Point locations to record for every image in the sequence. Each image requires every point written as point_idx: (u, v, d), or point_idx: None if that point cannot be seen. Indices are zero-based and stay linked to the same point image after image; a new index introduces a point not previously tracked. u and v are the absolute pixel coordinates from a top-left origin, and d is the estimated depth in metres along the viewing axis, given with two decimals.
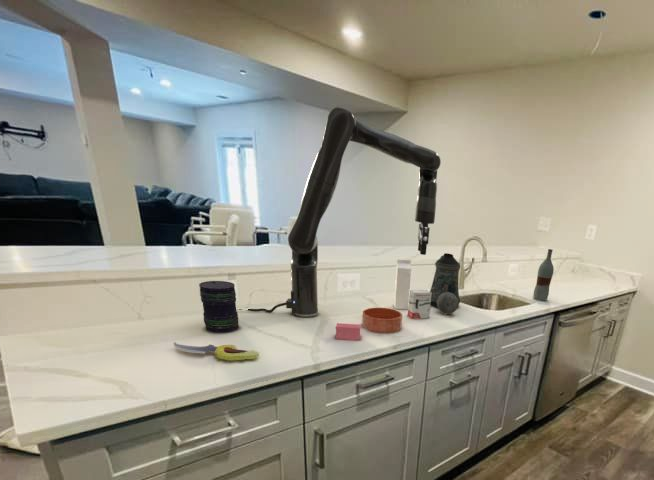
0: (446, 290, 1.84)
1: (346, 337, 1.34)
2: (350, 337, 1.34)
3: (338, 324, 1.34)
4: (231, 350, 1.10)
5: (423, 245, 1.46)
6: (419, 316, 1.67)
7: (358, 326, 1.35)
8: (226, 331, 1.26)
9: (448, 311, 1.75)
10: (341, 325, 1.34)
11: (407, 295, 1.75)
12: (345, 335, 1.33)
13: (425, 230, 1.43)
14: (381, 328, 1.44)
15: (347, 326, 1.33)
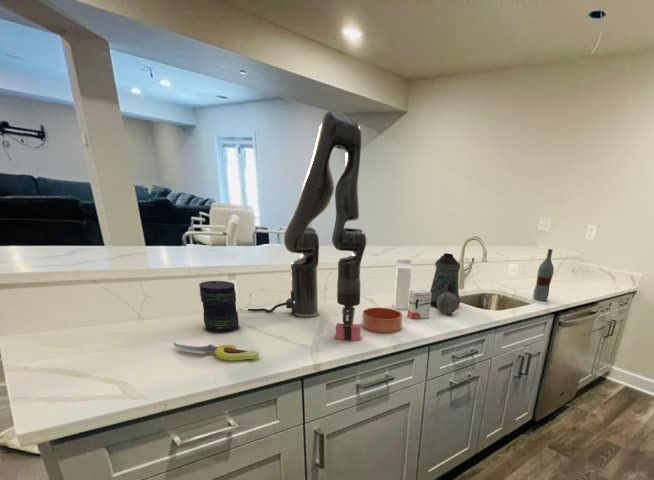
0: (446, 290, 1.84)
1: None
2: None
3: (338, 324, 1.34)
4: (231, 350, 1.10)
5: (347, 331, 1.32)
6: (419, 316, 1.67)
7: (358, 326, 1.35)
8: (226, 331, 1.26)
9: (448, 311, 1.75)
10: (341, 325, 1.34)
11: (407, 295, 1.75)
12: None
13: (346, 319, 1.27)
14: (381, 328, 1.44)
15: None
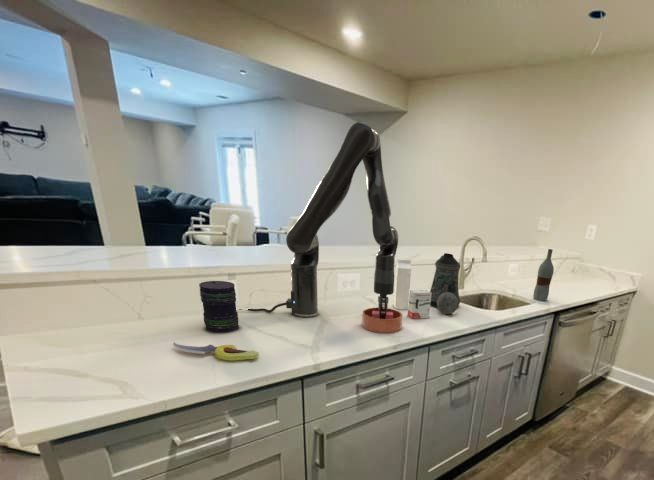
0: (446, 290, 1.84)
1: None
2: None
3: (373, 311, 1.51)
4: (231, 350, 1.10)
5: (381, 317, 1.48)
6: (419, 316, 1.67)
7: (391, 313, 1.52)
8: (226, 331, 1.26)
9: (448, 311, 1.75)
10: (376, 312, 1.50)
11: (407, 295, 1.75)
12: None
13: (382, 306, 1.43)
14: (381, 328, 1.44)
15: None
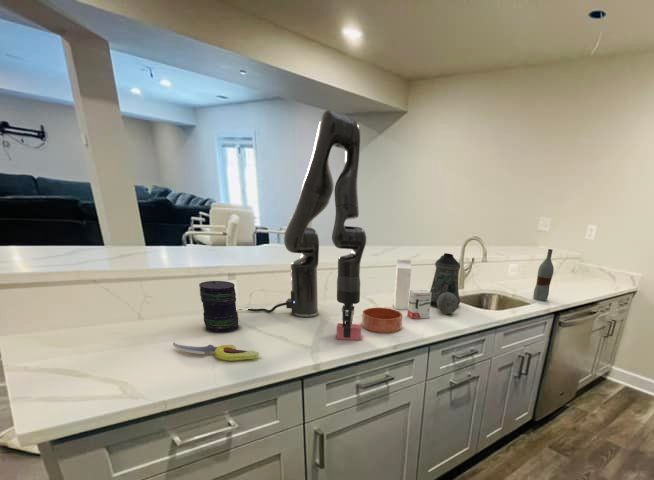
0: (446, 290, 1.84)
1: None
2: (350, 337, 1.34)
3: (339, 324, 1.34)
4: (231, 350, 1.10)
5: (346, 328, 1.29)
6: (419, 316, 1.67)
7: (359, 326, 1.35)
8: (226, 331, 1.26)
9: (448, 311, 1.75)
10: None
11: (407, 295, 1.75)
12: None
13: (345, 313, 1.26)
14: (381, 328, 1.44)
15: None
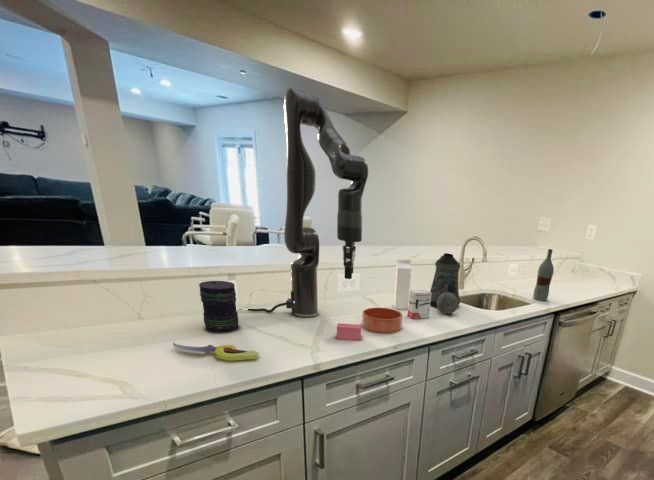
0: (446, 290, 1.84)
1: (347, 337, 1.34)
2: (350, 337, 1.34)
3: (339, 324, 1.34)
4: (231, 350, 1.10)
5: (347, 268, 1.21)
6: (419, 316, 1.67)
7: (359, 326, 1.35)
8: (226, 331, 1.26)
9: (448, 311, 1.75)
10: (342, 325, 1.34)
11: (407, 295, 1.75)
12: (346, 335, 1.34)
13: (346, 250, 1.18)
14: (381, 328, 1.44)
15: (348, 326, 1.33)
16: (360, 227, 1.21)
